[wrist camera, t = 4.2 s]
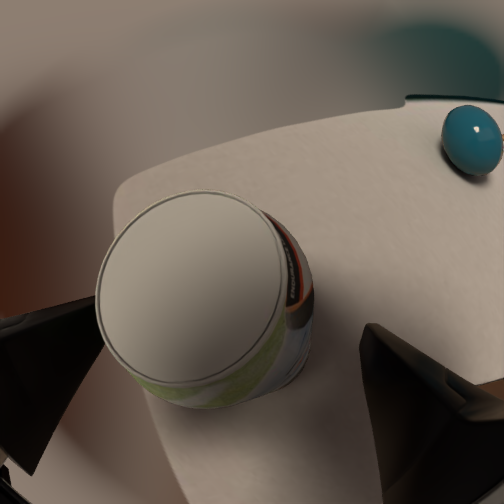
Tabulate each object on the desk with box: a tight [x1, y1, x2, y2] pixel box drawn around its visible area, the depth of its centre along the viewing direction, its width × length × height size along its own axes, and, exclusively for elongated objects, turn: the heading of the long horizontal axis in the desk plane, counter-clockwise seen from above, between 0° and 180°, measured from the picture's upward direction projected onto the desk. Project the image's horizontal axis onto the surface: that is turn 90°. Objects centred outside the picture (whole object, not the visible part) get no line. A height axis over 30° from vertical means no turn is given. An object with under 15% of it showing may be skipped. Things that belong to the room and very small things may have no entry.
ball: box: [441, 105, 504, 176], centre depth 20 cm, size 8×8×8 cm
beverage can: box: [95, 189, 314, 409], centre depth 11 cm, size 6×7×12 cm
